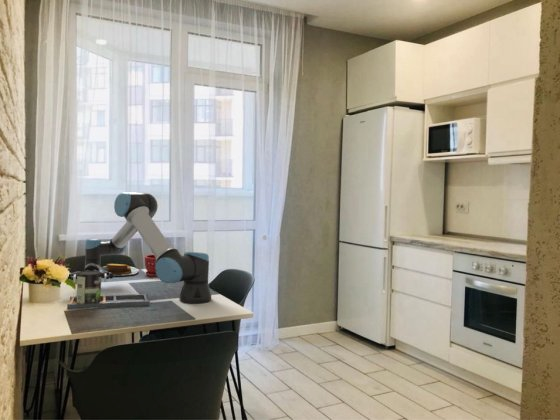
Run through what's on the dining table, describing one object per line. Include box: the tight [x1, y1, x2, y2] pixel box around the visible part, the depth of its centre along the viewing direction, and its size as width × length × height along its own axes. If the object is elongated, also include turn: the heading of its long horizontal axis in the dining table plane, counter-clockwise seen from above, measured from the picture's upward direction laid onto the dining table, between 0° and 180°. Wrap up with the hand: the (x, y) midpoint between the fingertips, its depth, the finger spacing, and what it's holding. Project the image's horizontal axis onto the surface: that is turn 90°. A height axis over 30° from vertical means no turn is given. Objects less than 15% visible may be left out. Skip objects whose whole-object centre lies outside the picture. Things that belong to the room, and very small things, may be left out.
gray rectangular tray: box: [66, 293, 150, 310], centre depth 215 cm, size 34×16×2 cm, turn 109°
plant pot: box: [144, 254, 158, 278], centre depth 288 cm, size 13×13×12 cm
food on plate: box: [100, 263, 140, 277], centre depth 290 cm, size 25×25×7 cm
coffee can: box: [76, 270, 102, 304], centre depth 212 cm, size 10×10×14 cm
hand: (89, 279), depth 221 cm, fingers open, 13 cm apart
